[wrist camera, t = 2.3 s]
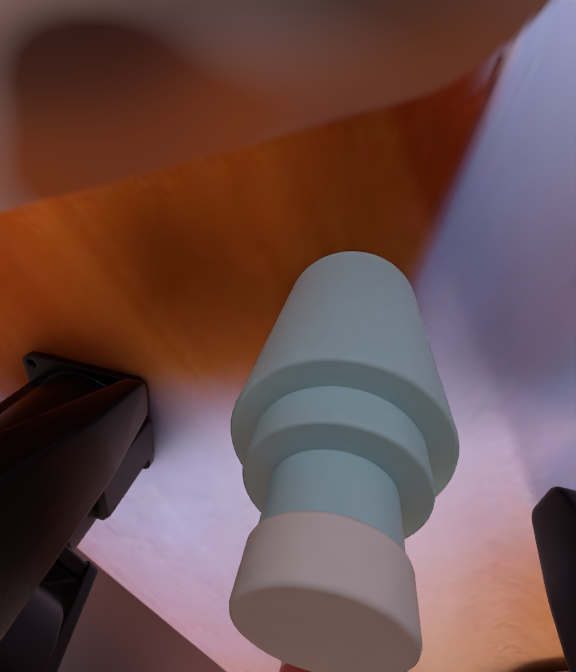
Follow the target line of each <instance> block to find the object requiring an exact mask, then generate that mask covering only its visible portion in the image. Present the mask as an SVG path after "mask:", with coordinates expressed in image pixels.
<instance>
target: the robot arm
mask: <svg viewBox="0 0 576 672" xmlns="http://www.w3.org/2000/svg"><path fill="white" fill-rule="evenodd" d="M23 362H24V366H25V369H26V372H27V375H28V378H29V383H27V384H26V385H25V386H23V387H22V388H20V389H19V390H18V391H16V392H15V393H13V394H12V395H11V396H9V397H8V398H6V399H5V400H4V401H2V402H1V403H0V672H57V671H58V668H59V666H60V663H61V661H62V659H63V656H64V653H65V651H66V649H67V646H68V644H69V641H70V639H71V636H72V634H73V631H74V629H75V627H76V624H77V622H78V619H79V617H80V614H81V612H82V609H83V607H84V604H85V602H86V600H87V597H88V595H89V592H90V590H91V587H92V585H93V582H94V580H95V577H96V575H97V572H98V568H97V567H96V566H94V565H93V564H92V563H91V562H89V561H84V560H83V559H82V558H81V557H80V556H79V555H77V554H76V553H75V552H74V550H75V549H76V547H77V546H78V544H79V543H80V542H81V540H82V539H83V537H84V536H85V535H86V533H87V532H88V530H89V529H90V527H91V526H92V525H93V523H94V522H95V520H96V519H100V520H105V519H106V518H108V517H109V516H111V514H112V513H113V511H114V510H115V508H116V507H117V505H118V504H119V502H120V501H121V499H122V498H123V497H124V495H125V494H126V492H127V491H128V489H129V488H130V486H131V485H132V483H133V482H134V480H135V479H136V477H137V476H138V474H139V473H140V472H141V470H142V469H147V468H149V467H150V465H151V464H152V462H153V452H154V445H153V433H152V421H151V419H150V415H149V403H148V392H147V385H146V383H145V381H144V380H143V379H141V378H140V377H137V376H133V375H129V374H125V373H121V372H117V371H113V370H109V369H105V368H101V367H97V366H93V365H89V364H85V363H81V362H77V361H73V360H69V359H65V358H61V357H58V356H54V355H50V354H46V353H42V352H38V351H32V352H30V353H28V354H27V355H25V356H24V357H23ZM532 524H533V529H534V534H535V539H536V544H537V549H538V554H539V559H540V564H541V569H542V574H543V579H544V584H545V588H546V593H547V597H548V601H549V605H550V609H551V612H552V616H553V619H554V622H555V626H556V629H557V632H558V636H559V639H560V642H561V646H562V649H563V652H564V656H565V659H566V662H567V666H568V669H569V672H576V491H574V490H570V489H566V488H562V487H553V488H551V489H550V490H549V491H548V492H547V493H546V495H545V496H544V497H543V498H542V499H541V500H540V502H539V503H538V504H537V505H536V506H535V507H534V509H533V512H532Z"/></svg>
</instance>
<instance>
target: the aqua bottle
mask: <svg viewBox="0 0 576 672" xmlns="http://www.w3.org/2000/svg"><path fill="white" fill-rule="evenodd" d="M231 436H232V442H233V446H234V449H235V452H236V455H237V456H238V458H239V460H240V462H241V464H242V466H243V480H244V485H245V488H246V491H247V493H248V495H249V497H250V499H251V500H252V502H253V503H254V505H255V506H256V507H257V508H258V509H259V511H260V512H261V517H260V520H259V524H258V525H257V526H256V527H255V528H254V530H253V531H252V532H251V533H250V535H249V537H248V539H247V543H246V546H245V550H244V553H243V556H242V560H241V563H240V566H239V570H238V573H237V576H236V580H235V583H234V587H233V590H232V593H231V597H230V600H229V612H230V617H231V620H232V622H233V623H234V625H235V627H236V628H237V629H238V631H239V632H240V633H241V634H242V635H243V636H244V637H245V638H247V639H248V640H249V641H250V642H251V643H253V644H254V645H255V646H257V647H258V648H260V649H261V650H263V651H264V652H266V653H268V654H269V655H271V656H273V657H275V658H277V659H279V660H281V661H283V662H286V663H288V664H290V665H293V666H296V667H298V668H301V669H304V670H307V671H311V672H407V671H408V670H410V669H411V668H413V667H414V666H415V665H416V664H417V662H418V661H419V658H420V655H421V651H422V637H421V628H420V619H419V610H418V601H417V592H416V583H415V574H414V570H413V566H412V564H411V562H410V560H409V558H408V556H407V554H406V553H405V544H404V539H405V538H407V537H409V536H411V535H412V534H414V533H415V532H417V531H418V530H419V529H420V528H421V527H422V526H423V525H424V524H425V522H426V521H427V520H428V518H429V516H430V514H431V512H432V510H433V506H434V502H435V497H436V496H437V495H438V494H439V493H440V492H441V491H442V490H443V489H444V488H445V487H446V485H447V484H448V483H449V481H450V479H451V477H452V475H453V473H454V471H455V468H456V465H457V461H458V457H459V440H458V433H457V430H456V427H455V424H454V420H453V417H452V414H451V411H450V407H449V404H448V401H447V398H446V395H445V391H444V388H443V385H442V382H441V378H440V375H439V372H438V369H437V366H436V362H435V359H434V356H433V353H432V349H431V346H430V343H429V340H428V337H427V333H426V330H425V327H424V324H423V321H422V317H421V314H420V311H419V308H418V304H417V301H416V298H415V295H414V292H413V289H412V287H411V285H410V283H409V281H408V280H407V278H406V277H405V275H404V274H403V273H402V272H401V271H400V270H399V269H398V268H397V267H396V266H394V265H393V264H392V263H391V262H389V261H387V260H385V259H384V258H381V257H379V256H377V255H374V254H370V253H366V252H358V251H347V252H339V253H335V254H331V255H328V256H326V257H323V258H321V259H320V260H318V261H316V262H314V263H313V264H312V265H310V266H309V267H308V268H307V269H306V270H305V271H304V272H303V273H302V274H301V275H300V277H299V278H298V279H297V281H296V283H295V285H294V286H293V288H292V290H291V292H290V294H289V296H288V298H287V300H286V303H285V305H284V307H283V309H282V311H281V313H280V315H279V317H278V319H277V321H276V323H275V325H274V327H273V329H272V331H271V333H270V335H269V337H268V339H267V341H266V343H265V345H264V347H263V349H262V351H261V353H260V355H259V357H258V359H257V361H256V363H255V365H254V367H253V369H252V371H251V373H250V375H249V377H248V379H247V381H246V383H245V385H244V387H243V389H242V391H241V393H240V395H239V397H238V399H237V401H236V404H235V406H234V409H233V412H232V418H231Z"/></svg>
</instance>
